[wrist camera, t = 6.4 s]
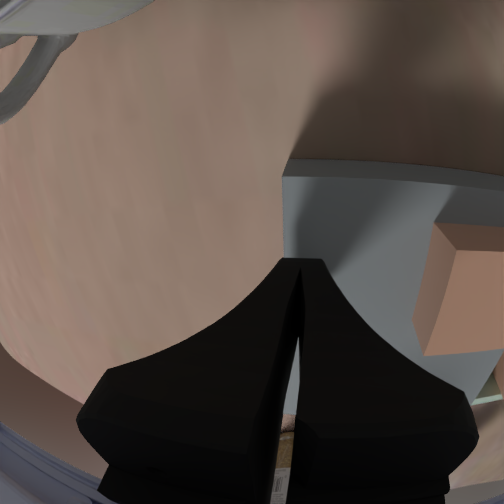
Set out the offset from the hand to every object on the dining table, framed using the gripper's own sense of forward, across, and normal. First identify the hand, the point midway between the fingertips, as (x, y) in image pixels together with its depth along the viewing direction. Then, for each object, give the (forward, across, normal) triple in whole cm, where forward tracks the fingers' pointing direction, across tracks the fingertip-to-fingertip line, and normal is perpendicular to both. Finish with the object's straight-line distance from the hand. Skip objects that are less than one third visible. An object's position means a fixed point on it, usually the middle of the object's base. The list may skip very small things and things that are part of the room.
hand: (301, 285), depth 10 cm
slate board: (+4, -5, +3) cm, 7 cm away
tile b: (+1, -6, 0) cm, 6 cm away
